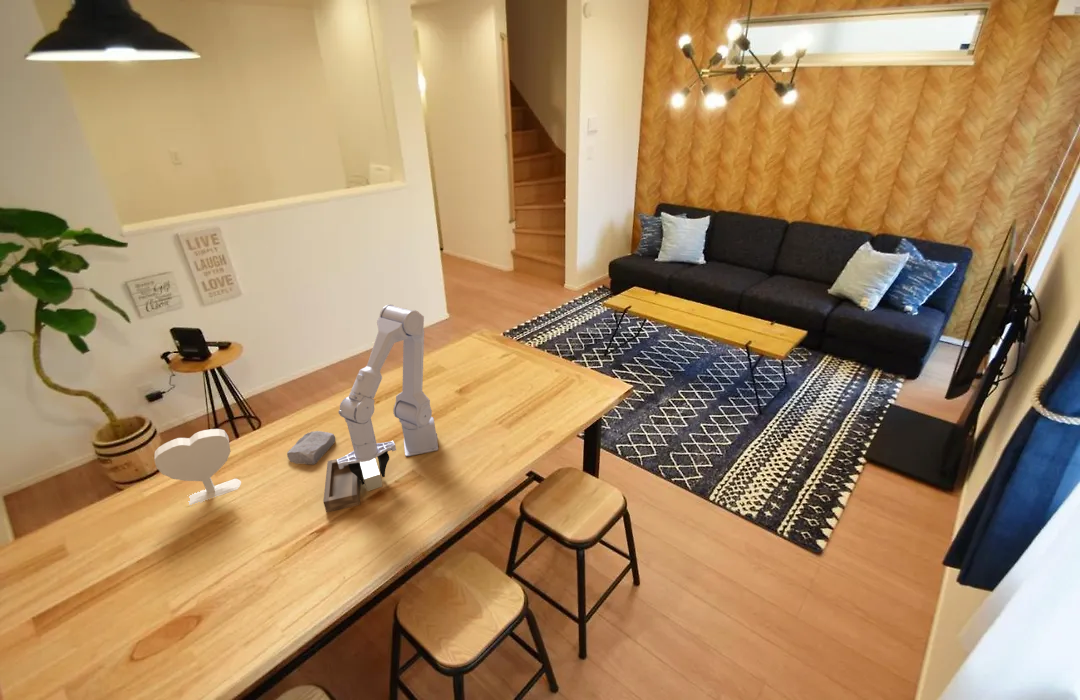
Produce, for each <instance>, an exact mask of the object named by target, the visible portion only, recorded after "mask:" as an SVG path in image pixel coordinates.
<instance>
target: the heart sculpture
mask: <svg viewBox="0 0 1080 700" xmlns="http://www.w3.org/2000/svg"><path fill="white" fill-rule="evenodd" d="M230 454H231V444H230V438H229V435H228V434H227V432H226V431H225V429H221V428H211V429H203V430H200V431H197V432H195V433H194V434H193V435H191V436H190V437H176V438H174V439H171V440H169V441H167V442H165V443H163V444H162V445H160V446H159V447H157V449H155V451H154V464H155V467H156V469H157V470H158V471H159V472H160V473H161V474H162V475H164V476H166V477H168V478H171V479H172V480H179V481H185V482H202V484H203V486H204V489H205V490H204V489H201V490H199V491H200V492H199V491H196V492H197V493H196V492H194V494H193V493H191V494H192V495H190V494H189V495H190V496H189V498H190V501H188V502H189V505H192V504H195V503H198V502H200V503H199V504H201V503H204V502H206V501H205V500H207V501H209V500H211V499H210V498H212V499H214V498H213V497H215V498H217V497H216V496H218V497H221V496H222V495H226V494H228V493H231V492H233V491H237V490H239V488H240V486H241V484H242V481H241V480H240V479H238V478H233V479H230V480H227V481H225V482H221V483H219V484H216V485H215V484H214V482H213V480H212V477H213V476H214V475H215V474H216V473H217V472H218V471H219V470H221V468H222V467H223V466H224V465H225V464H226V463H227V461H228V459H229V457H230ZM208 499H209V500H208ZM203 501H204V502H203Z"/></svg>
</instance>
